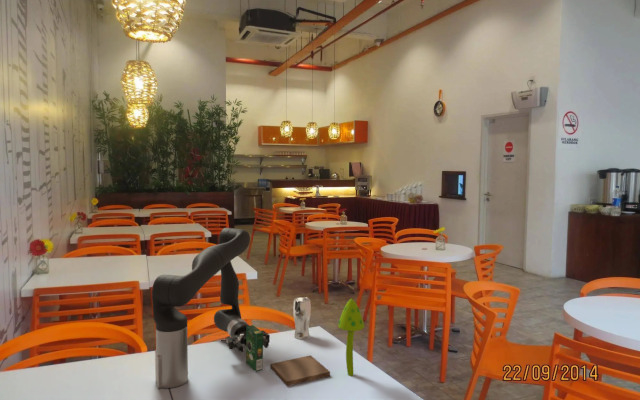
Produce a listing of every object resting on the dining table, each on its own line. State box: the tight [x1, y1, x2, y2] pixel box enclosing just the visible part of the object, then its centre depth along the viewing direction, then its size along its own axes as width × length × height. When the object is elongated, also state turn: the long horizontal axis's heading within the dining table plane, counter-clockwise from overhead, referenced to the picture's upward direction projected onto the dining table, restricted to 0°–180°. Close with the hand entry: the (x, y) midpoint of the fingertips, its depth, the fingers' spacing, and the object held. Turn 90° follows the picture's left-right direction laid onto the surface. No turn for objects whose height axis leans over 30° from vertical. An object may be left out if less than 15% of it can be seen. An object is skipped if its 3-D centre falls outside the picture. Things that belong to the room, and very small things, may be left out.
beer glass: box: [292, 296, 312, 340], centre depth 173 cm, size 7×7×15 cm
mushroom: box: [337, 298, 365, 377], centre depth 140 cm, size 8×8×25 cm
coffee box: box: [245, 324, 264, 373], centre depth 145 cm, size 8×3×13 cm, turn 33°
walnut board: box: [269, 355, 331, 387], centre depth 142 cm, size 15×14×2 cm
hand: (254, 347), depth 145 cm, fingers open, 8 cm apart
